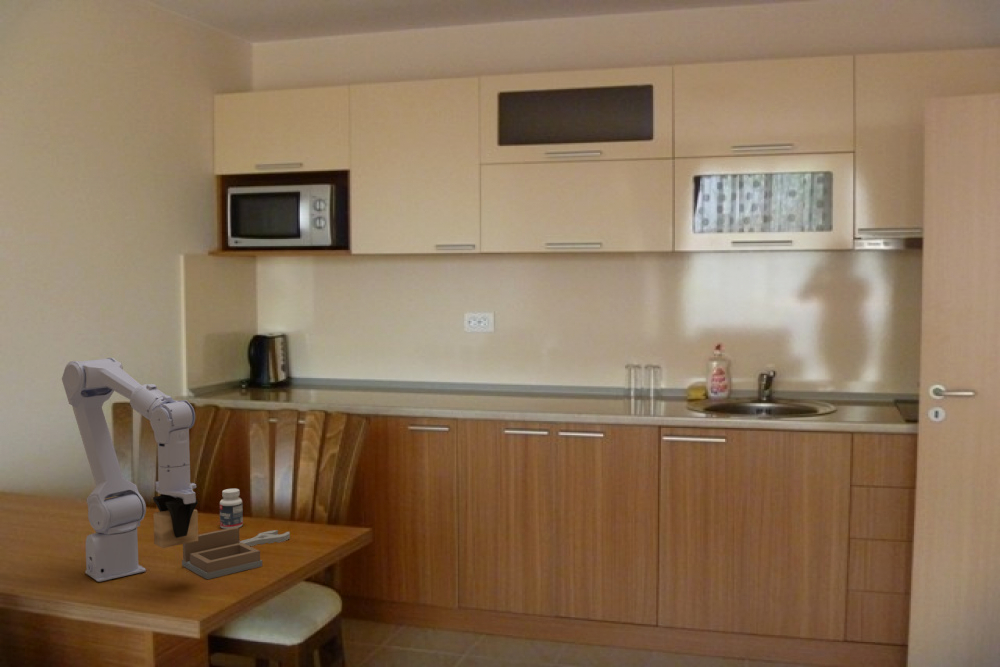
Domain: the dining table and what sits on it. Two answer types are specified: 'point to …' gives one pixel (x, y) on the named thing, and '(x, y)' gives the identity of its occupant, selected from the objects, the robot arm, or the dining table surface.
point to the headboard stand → (219, 554)
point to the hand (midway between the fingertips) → (176, 533)
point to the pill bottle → (231, 509)
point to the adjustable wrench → (267, 538)
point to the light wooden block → (165, 530)
